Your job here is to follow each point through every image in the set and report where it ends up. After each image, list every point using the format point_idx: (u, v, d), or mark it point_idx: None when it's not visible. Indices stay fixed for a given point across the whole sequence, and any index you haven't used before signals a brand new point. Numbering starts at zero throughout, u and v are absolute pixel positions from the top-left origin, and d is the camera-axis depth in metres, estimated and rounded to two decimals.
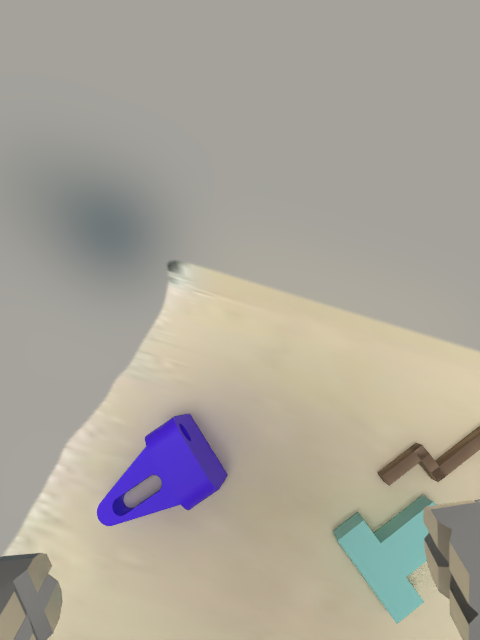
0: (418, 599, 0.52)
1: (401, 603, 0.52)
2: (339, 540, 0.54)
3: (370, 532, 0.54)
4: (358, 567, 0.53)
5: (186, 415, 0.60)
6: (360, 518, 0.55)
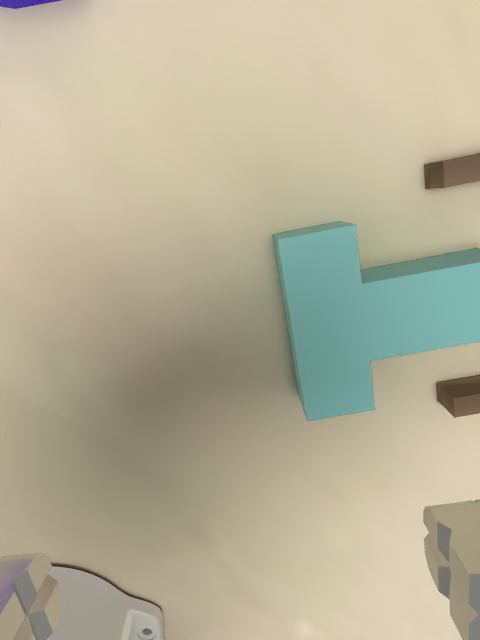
0: (368, 402, 0.26)
1: (333, 396, 0.26)
2: (282, 241, 0.23)
3: (354, 254, 0.23)
4: (292, 307, 0.24)
5: None
6: (346, 224, 0.24)
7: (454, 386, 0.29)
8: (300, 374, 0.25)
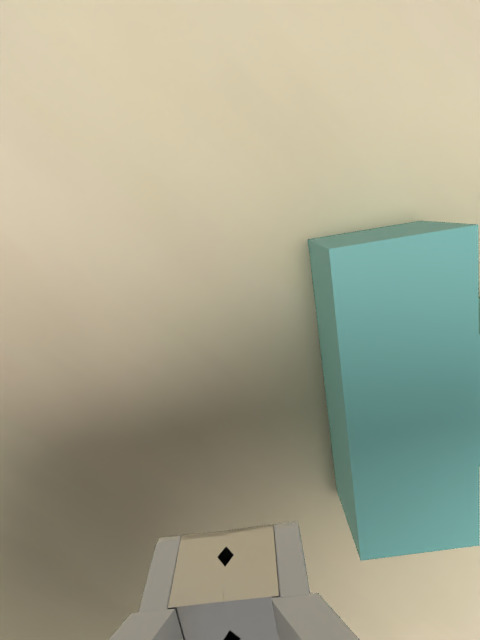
0: (468, 533, 0.15)
1: (409, 522, 0.15)
2: (337, 251, 0.12)
3: (470, 281, 0.12)
4: (347, 371, 0.13)
5: None
6: (450, 224, 0.13)
7: None
8: (354, 486, 0.14)
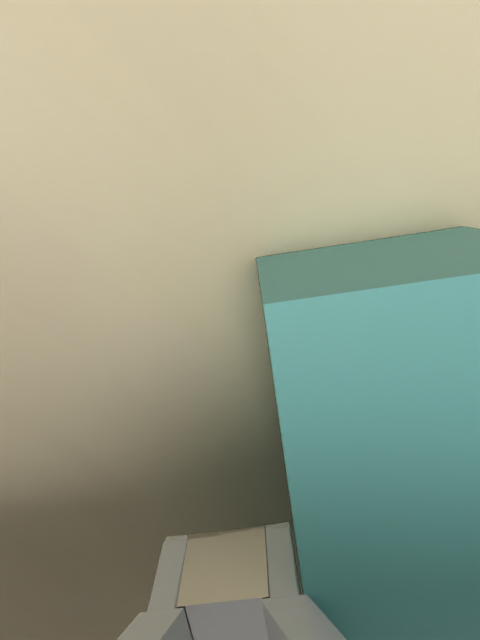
0: None
1: None
2: (284, 311, 0.05)
3: None
4: (312, 554, 0.06)
5: None
6: None
7: None
8: None
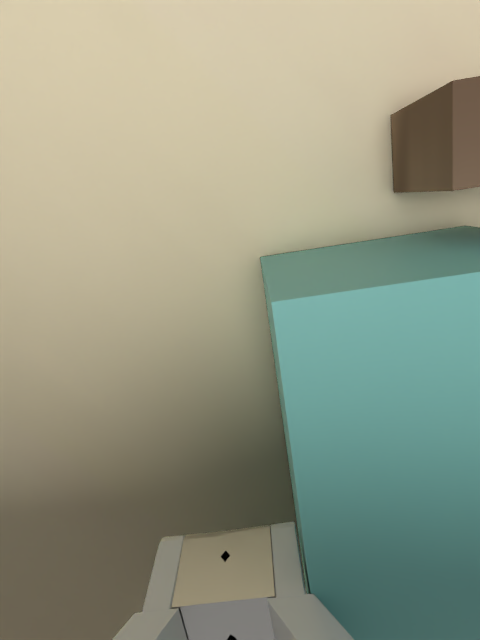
0: None
1: None
2: (291, 308, 0.05)
3: None
4: (318, 551, 0.06)
5: None
6: None
7: None
8: None
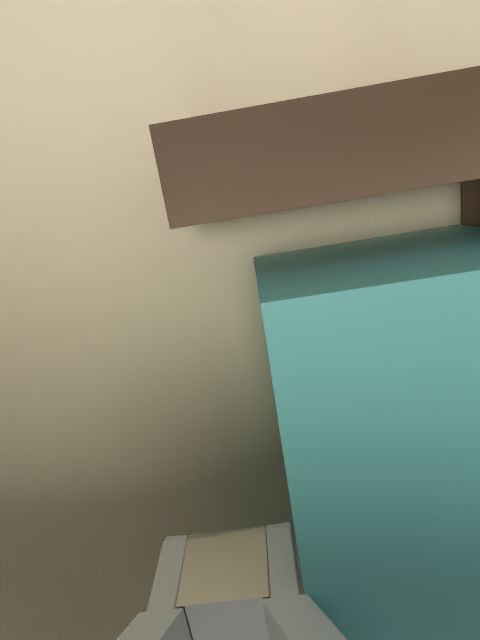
0: None
1: None
2: (281, 309, 0.05)
3: None
4: (311, 552, 0.06)
5: None
6: None
7: None
8: None
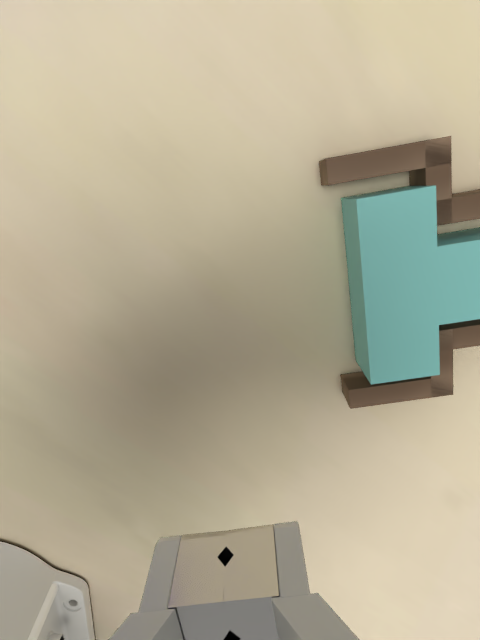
0: (433, 367, 0.26)
1: (399, 360, 0.26)
2: (360, 200, 0.23)
3: (432, 216, 0.23)
4: (365, 268, 0.24)
5: None
6: (423, 186, 0.24)
7: (354, 378, 0.30)
8: (368, 337, 0.26)
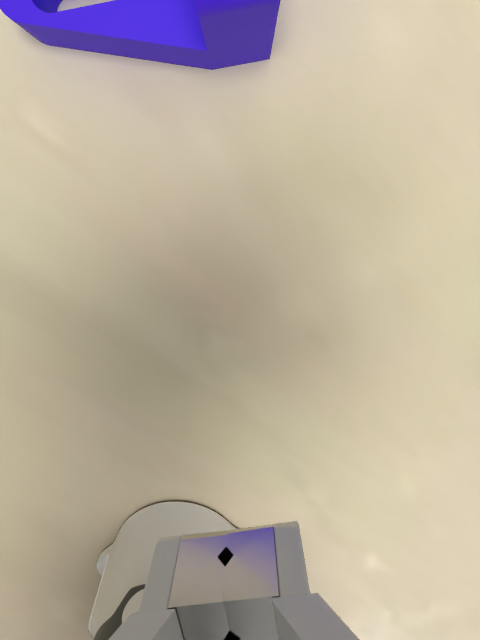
0: None
1: None
2: None
3: None
4: None
5: None
6: None
7: None
8: None
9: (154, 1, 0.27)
